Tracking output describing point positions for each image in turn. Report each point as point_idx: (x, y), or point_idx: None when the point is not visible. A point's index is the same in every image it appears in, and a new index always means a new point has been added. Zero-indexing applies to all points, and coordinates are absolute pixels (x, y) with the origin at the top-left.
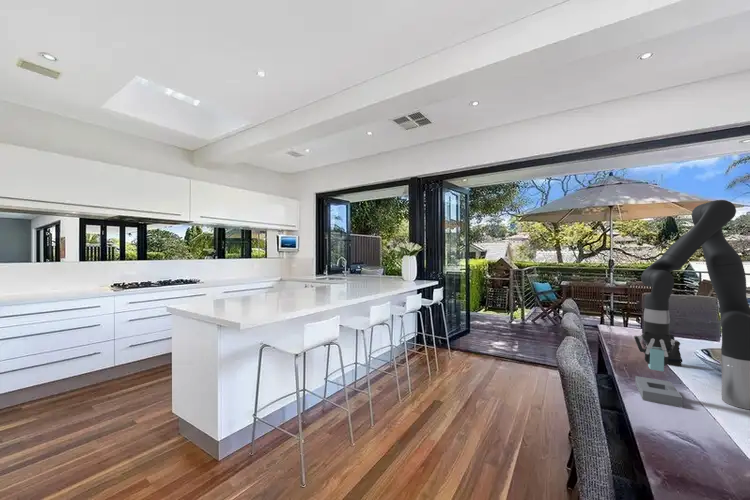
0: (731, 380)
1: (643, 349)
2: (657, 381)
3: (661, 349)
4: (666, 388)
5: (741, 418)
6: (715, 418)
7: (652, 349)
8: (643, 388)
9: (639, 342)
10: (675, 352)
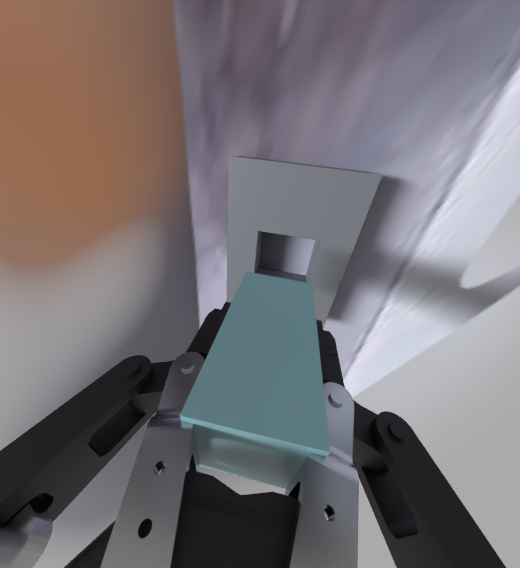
0: None
1: (153, 410)
2: (309, 203)
3: (289, 476)
4: (313, 267)
5: (439, 337)
6: (362, 348)
7: (208, 462)
8: (232, 300)
9: (59, 503)
10: (398, 499)
